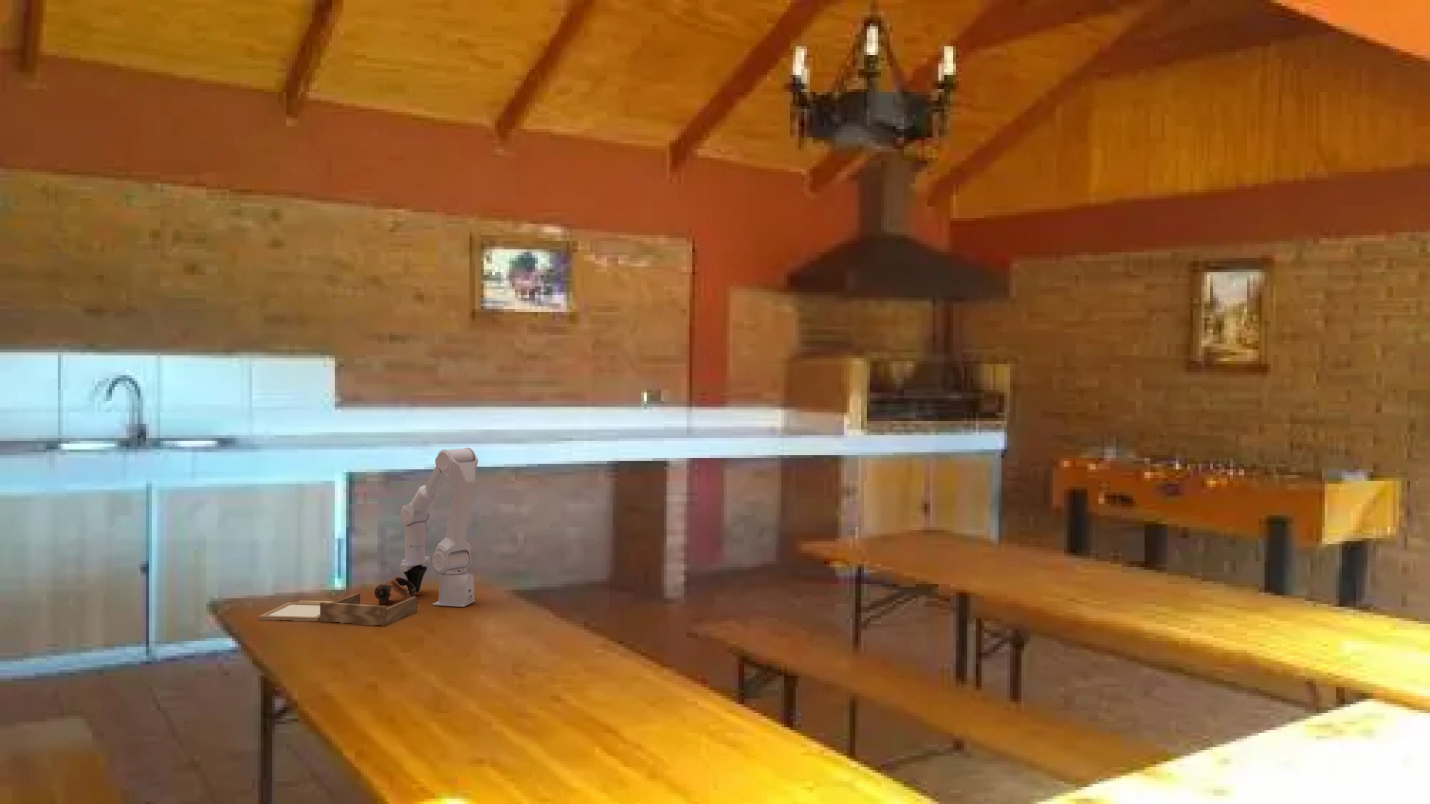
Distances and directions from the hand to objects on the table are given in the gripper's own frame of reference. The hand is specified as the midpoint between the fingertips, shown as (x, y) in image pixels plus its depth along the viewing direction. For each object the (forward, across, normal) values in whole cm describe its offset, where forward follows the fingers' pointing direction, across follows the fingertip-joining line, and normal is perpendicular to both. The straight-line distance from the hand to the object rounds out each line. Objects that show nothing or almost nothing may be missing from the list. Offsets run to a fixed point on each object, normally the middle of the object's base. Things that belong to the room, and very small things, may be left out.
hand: (414, 591), depth 327 cm
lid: (+1, +27, -18) cm, 33 cm away
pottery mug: (+1, +11, -1) cm, 11 cm away
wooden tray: (+1, +27, +1) cm, 27 cm away
